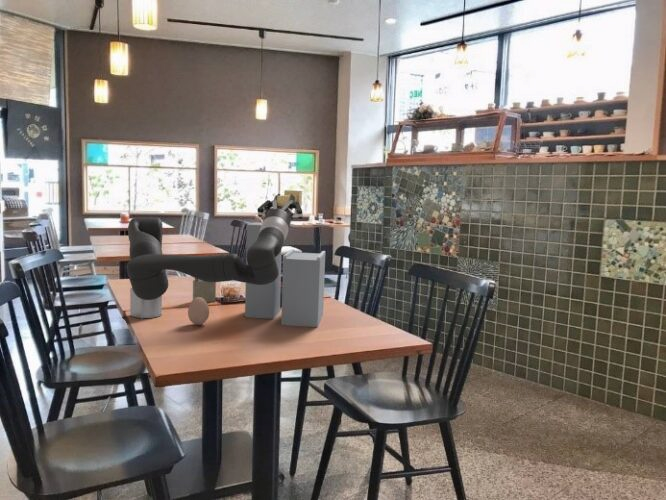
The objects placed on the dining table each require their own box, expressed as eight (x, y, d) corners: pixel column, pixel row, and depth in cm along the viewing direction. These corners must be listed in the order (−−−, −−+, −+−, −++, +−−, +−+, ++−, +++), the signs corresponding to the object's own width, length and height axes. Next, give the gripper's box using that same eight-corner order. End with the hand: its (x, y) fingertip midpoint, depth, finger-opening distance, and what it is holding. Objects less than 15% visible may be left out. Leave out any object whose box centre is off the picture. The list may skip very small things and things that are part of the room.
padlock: (216, 301, 210) (216, 263, 208) (195, 303, 206) (195, 264, 204) (212, 299, 214) (213, 261, 212) (192, 301, 210) (192, 262, 208)
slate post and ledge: (317, 327, 178) (321, 229, 174) (239, 322, 180) (241, 226, 176) (323, 313, 197) (326, 225, 194) (252, 309, 199) (254, 222, 196)
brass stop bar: (290, 208, 162) (291, 191, 161) (274, 207, 163) (274, 190, 162) (301, 206, 182) (301, 190, 181) (286, 205, 182) (287, 190, 182)
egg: (187, 328, 171) (188, 299, 170) (187, 322, 178) (188, 295, 177) (209, 327, 173) (209, 299, 172) (208, 322, 179) (208, 294, 178)
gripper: (299, 218, 150) (308, 186, 163) (248, 215, 151) (261, 184, 165) (300, 240, 154) (309, 208, 168) (251, 237, 156) (264, 206, 169)
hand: (285, 196), depth 166 cm, fingers closed on brass stop bar, 3 cm apart
